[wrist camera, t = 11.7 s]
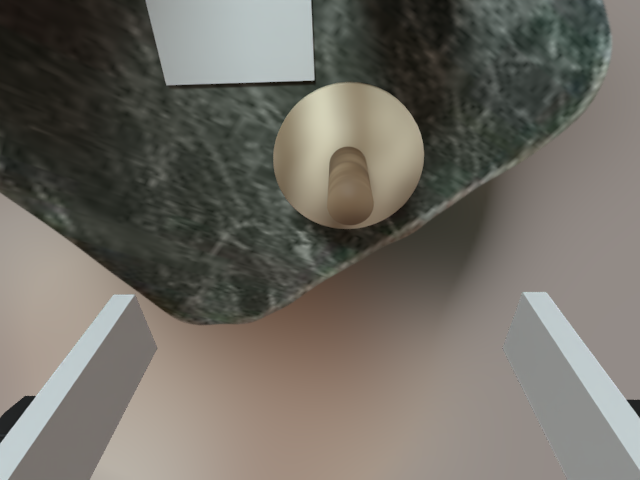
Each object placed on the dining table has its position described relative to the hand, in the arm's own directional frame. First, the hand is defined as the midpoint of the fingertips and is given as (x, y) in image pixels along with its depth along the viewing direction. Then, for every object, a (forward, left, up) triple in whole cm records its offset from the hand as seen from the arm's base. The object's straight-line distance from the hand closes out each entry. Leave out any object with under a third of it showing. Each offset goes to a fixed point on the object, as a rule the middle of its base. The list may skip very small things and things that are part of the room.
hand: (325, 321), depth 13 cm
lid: (+1, -2, -22) cm, 22 cm away
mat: (-9, +11, -27) cm, 30 cm away
